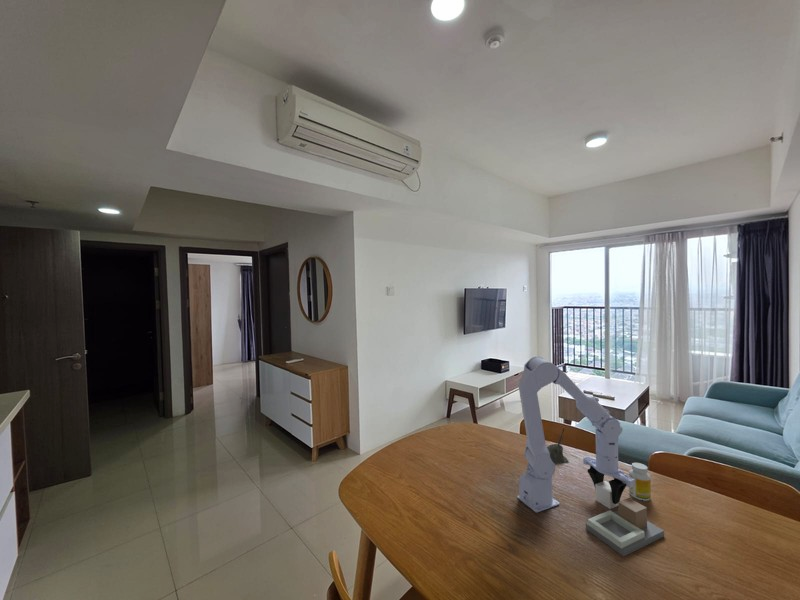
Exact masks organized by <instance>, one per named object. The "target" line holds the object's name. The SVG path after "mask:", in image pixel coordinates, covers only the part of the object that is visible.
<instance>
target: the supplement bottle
mask: <svg viewBox="0 0 800 600" xmlns="http://www.w3.org/2000/svg"><path fill="white" fill-rule="evenodd" d="M648 472H649V468H648V466H647V465H646V464H643V463H640V462H632V463H631V469H630V470H629V472H628V476H629V477H630V478H632V479H634V486H633V487H631V488H629V487H628V488H629V489H628V491H629V494H630V496H631V497H633V498H634V499H636V500H639V501H642V500H643V502H648V501H650V500H651V498H652V497H651V495H652V494H651V493H652V491H651V490H652V489H651V485H652V484H651V483H652V482H651V475H650V473H648Z"/></svg>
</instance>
